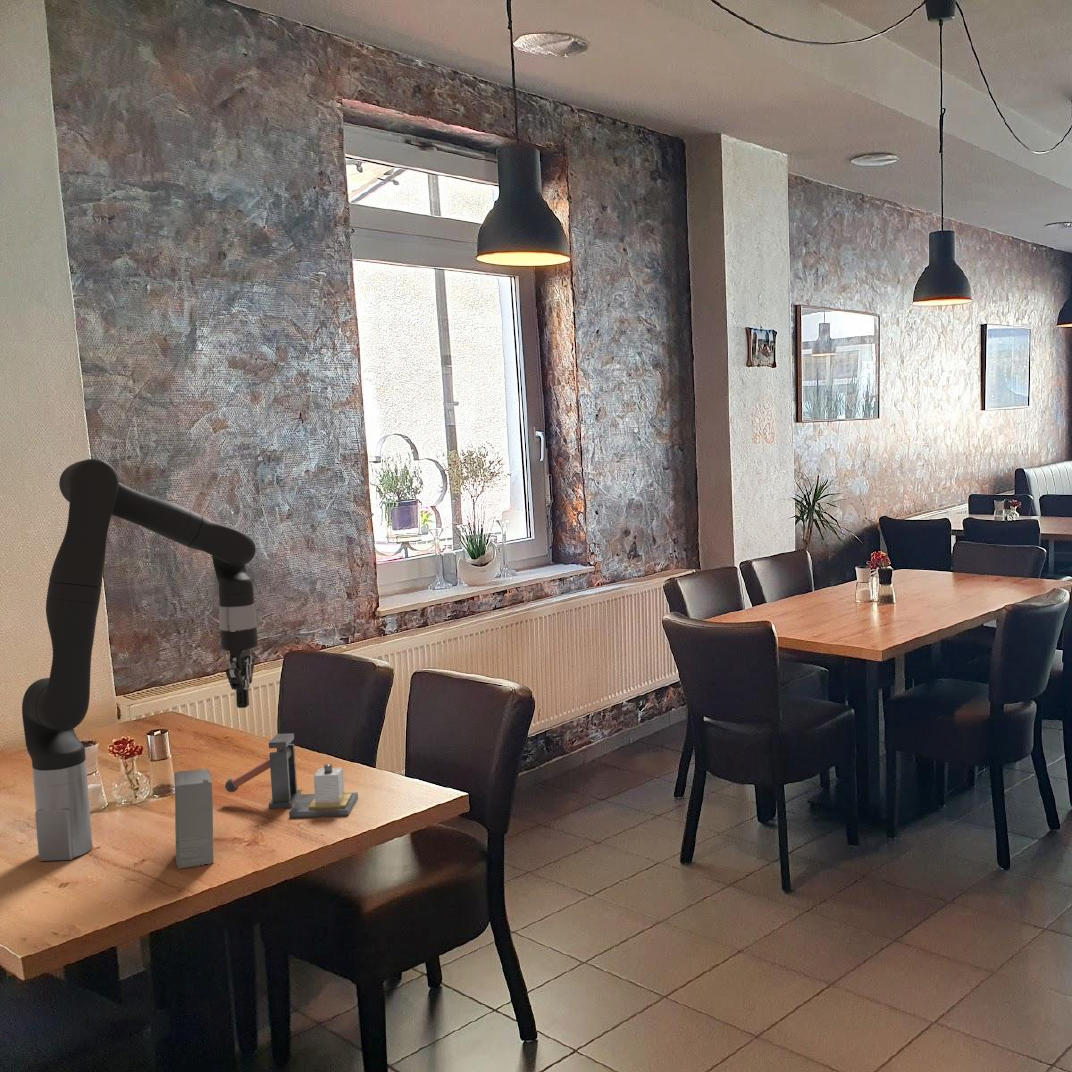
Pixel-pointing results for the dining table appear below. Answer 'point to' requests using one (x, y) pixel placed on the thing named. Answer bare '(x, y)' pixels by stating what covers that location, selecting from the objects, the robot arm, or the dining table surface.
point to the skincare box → (193, 818)
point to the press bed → (287, 786)
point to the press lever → (252, 773)
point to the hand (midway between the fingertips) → (243, 706)
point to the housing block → (329, 785)
